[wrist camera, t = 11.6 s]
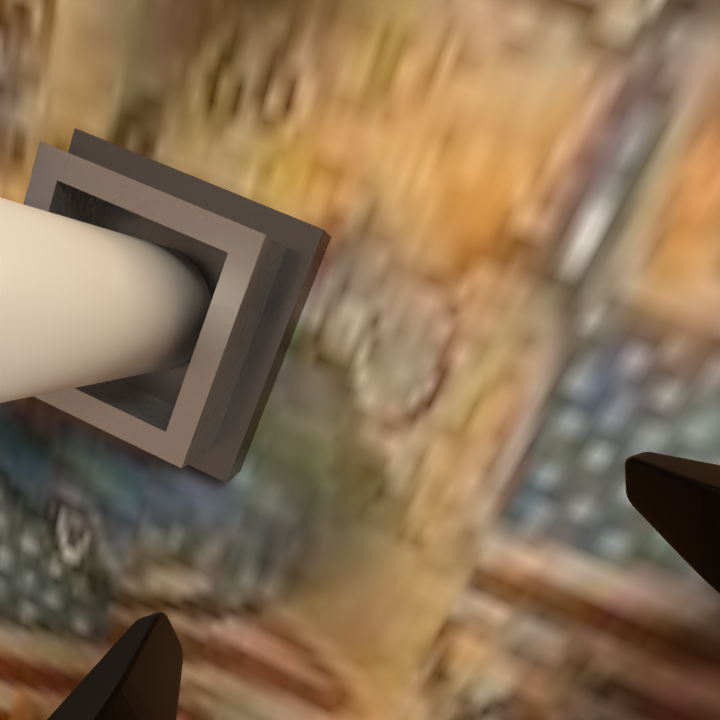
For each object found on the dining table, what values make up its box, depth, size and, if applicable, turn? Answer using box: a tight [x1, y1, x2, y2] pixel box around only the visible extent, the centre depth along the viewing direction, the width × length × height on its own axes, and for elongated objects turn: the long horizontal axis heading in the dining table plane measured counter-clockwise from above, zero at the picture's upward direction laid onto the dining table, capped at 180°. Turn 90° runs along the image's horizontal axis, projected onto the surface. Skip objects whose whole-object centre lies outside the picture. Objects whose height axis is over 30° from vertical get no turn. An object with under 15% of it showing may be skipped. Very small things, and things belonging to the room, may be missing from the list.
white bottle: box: [0, 198, 211, 403], centre depth 12 cm, size 6×6×13 cm
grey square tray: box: [24, 128, 331, 483], centre depth 18 cm, size 13×13×4 cm
